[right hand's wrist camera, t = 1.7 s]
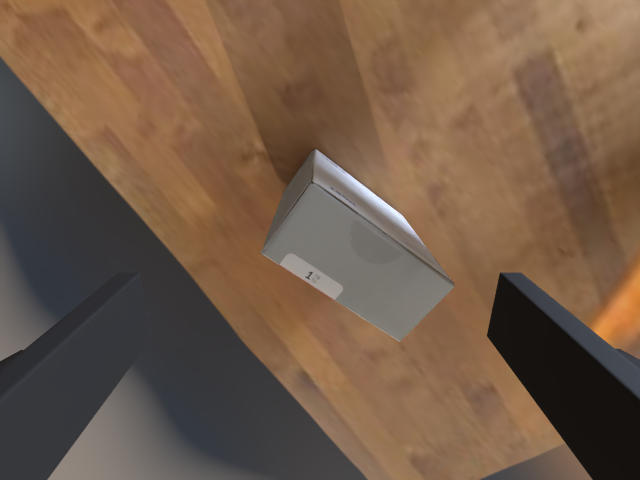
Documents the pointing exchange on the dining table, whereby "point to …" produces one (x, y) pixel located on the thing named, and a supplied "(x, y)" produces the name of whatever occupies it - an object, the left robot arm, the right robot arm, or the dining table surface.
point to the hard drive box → (354, 248)
